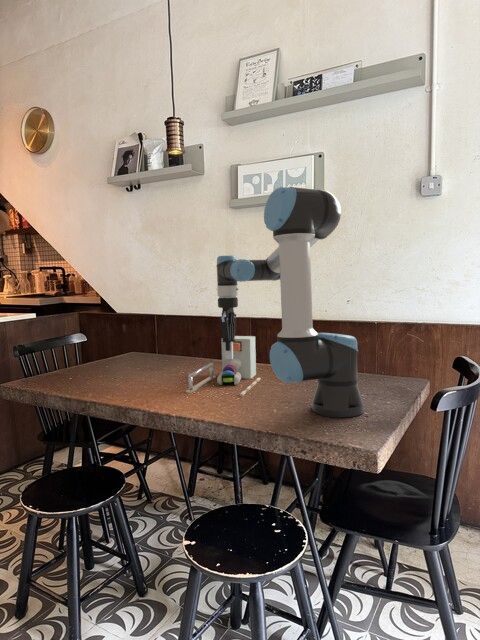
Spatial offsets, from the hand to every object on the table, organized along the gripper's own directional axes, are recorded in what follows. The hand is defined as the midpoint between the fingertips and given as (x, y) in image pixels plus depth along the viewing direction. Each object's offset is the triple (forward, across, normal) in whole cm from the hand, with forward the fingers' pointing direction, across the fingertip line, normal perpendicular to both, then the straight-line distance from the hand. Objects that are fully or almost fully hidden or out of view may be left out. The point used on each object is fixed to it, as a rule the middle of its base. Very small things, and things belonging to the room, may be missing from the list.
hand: (229, 358), depth 168 cm
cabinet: (+10, +12, 0) cm, 16 cm away
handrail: (+10, -4, +10) cm, 14 cm away
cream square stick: (+10, -4, -10) cm, 14 cm away
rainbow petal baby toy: (+10, 0, 0) cm, 10 cm away
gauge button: (-2, +7, 0) cm, 8 cm away
